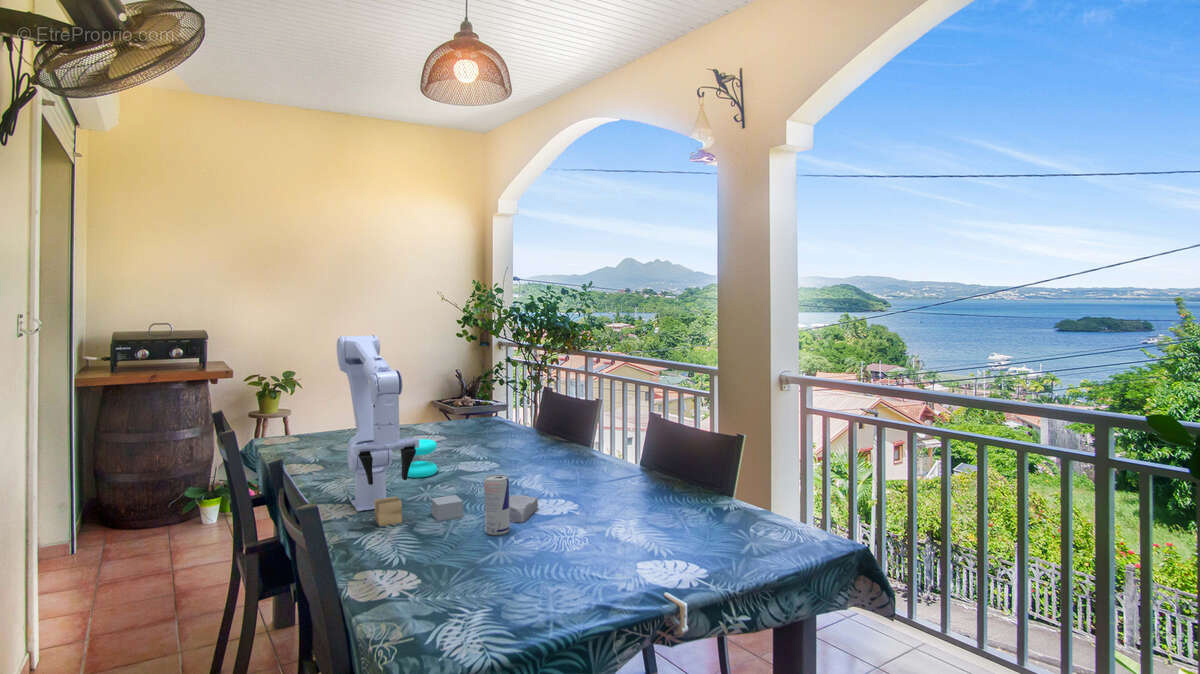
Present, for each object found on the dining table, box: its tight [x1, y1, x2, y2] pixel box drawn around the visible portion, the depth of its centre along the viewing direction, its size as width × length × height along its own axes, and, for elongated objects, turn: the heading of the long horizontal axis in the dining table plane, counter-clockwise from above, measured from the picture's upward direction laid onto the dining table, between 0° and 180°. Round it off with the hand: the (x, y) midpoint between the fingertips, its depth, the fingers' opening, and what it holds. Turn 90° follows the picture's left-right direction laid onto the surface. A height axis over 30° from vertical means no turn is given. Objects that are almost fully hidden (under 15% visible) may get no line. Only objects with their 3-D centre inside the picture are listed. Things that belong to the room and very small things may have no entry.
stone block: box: [509, 494, 539, 524], centre depth 153 cm, size 12×5×10 cm
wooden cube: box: [374, 495, 403, 527], centre depth 148 cm, size 5×5×5 cm
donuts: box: [407, 438, 438, 479], centre depth 192 cm, size 10×10×10 cm
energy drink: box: [483, 474, 511, 536], centre depth 141 cm, size 5×5×12 cm
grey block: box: [430, 494, 464, 522], centre depth 152 cm, size 6×6×4 cm
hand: (387, 481), depth 148 cm, fingers open, 7 cm apart
